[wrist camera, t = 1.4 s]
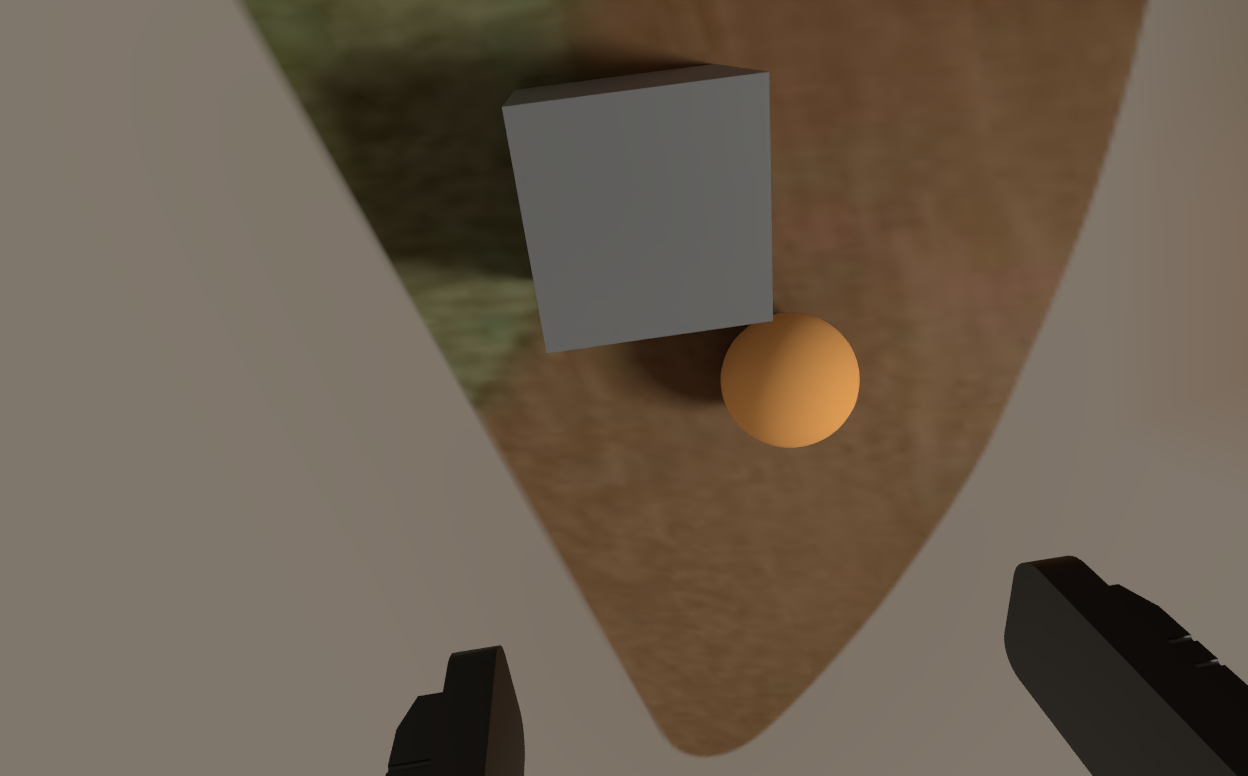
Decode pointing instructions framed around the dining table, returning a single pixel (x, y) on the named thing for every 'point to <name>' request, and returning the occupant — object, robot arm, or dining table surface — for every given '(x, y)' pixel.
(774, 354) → the ball
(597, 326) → the matte gray cube
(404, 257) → the dining table surface
